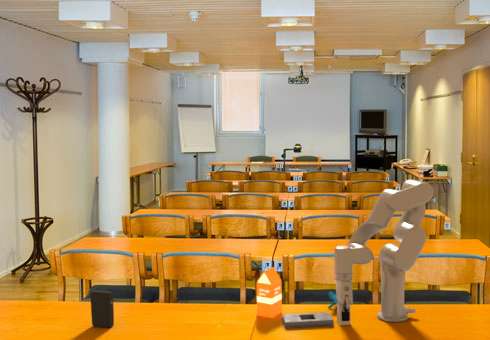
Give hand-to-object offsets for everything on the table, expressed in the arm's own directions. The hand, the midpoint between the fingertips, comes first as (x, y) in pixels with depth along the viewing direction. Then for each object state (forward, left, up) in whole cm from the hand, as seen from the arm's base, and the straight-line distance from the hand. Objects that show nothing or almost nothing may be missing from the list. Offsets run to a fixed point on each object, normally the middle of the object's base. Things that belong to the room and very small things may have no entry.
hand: (343, 317), depth 251 cm
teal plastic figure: (-2, -18, -2) cm, 18 cm away
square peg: (0, 0, -2) cm, 2 cm away
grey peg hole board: (+15, -2, -2) cm, 15 cm away
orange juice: (+29, -16, -2) cm, 33 cm away
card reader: (+100, -11, -2) cm, 101 cm away
